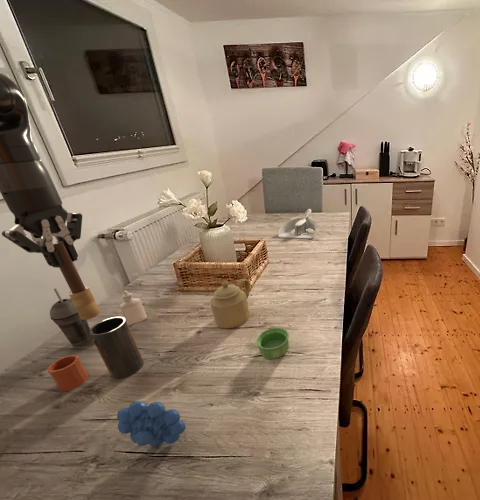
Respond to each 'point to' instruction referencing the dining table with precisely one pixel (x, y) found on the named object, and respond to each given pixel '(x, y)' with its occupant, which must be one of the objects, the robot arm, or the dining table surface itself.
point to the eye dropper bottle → (132, 309)
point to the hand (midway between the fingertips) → (65, 263)
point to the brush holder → (68, 372)
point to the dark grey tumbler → (117, 347)
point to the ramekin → (273, 342)
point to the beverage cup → (70, 322)
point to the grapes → (150, 423)
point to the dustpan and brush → (299, 227)
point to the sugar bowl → (231, 304)
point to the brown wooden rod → (76, 285)
